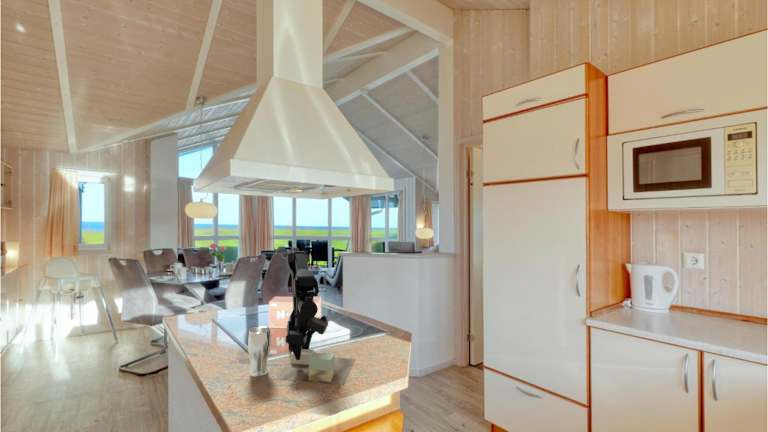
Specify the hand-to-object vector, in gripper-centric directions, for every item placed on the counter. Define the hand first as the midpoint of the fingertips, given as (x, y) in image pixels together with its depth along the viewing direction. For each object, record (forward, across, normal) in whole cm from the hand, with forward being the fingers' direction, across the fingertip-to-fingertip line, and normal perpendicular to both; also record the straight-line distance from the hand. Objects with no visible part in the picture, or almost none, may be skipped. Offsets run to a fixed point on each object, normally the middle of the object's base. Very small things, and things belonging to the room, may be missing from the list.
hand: (302, 354), depth 125 cm
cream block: (+2, 0, 0) cm, 2 cm away
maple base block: (+2, -11, -10) cm, 15 cm away
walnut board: (+3, -5, -7) cm, 9 cm away
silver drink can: (+4, -11, +11) cm, 16 cm away
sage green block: (-1, -11, -10) cm, 15 cm away
